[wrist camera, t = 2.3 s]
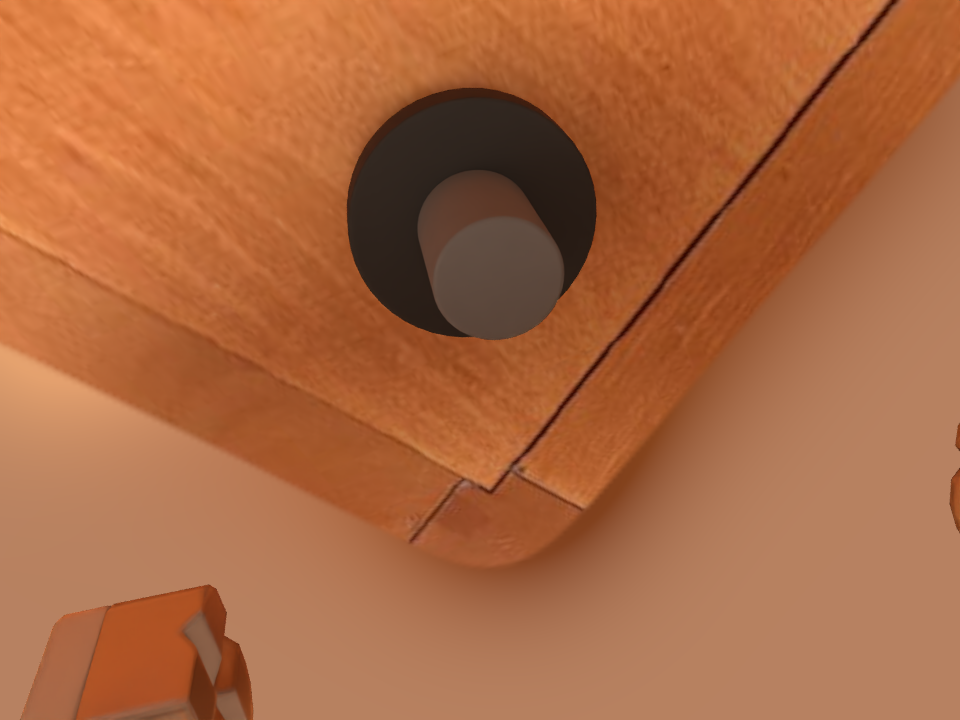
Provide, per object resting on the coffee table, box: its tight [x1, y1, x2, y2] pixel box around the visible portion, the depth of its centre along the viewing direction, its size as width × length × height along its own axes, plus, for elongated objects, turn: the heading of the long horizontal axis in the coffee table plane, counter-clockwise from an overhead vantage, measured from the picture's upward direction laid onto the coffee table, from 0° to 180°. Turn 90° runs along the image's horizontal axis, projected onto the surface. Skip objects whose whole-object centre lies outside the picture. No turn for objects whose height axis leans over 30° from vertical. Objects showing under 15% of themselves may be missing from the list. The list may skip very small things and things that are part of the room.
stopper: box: [347, 88, 596, 340], centre depth 19 cm, size 5×5×6 cm
